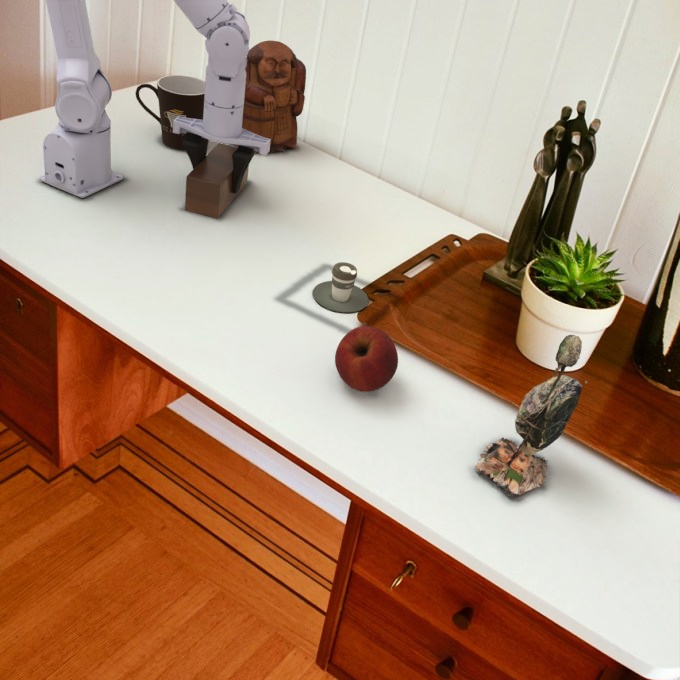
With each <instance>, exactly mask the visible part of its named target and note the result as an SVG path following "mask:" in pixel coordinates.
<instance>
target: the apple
mask: <svg viewBox="0 0 680 680" xmlns="http://www.w3.org/2000/svg"><path fill="white" fill-rule="evenodd" d="M334 354H335V355H334V364H335V365H334V366H335V368H336V371H337V374H338V376H339V377H340V378H341V380H342V381H343V382H344V384H346V385H347V386H348V387H349V388H351V389H353V390H355V391H358V392H361V393H370V392H374V391H377V390H379V389H381V388H383V387H385V386H387V384H388V383H390V382H391V380H392V379H393V378H394V377H395V374H396V372H397V370H398V365H399V356H398V349H397V347H396V344H395V343H394V341H393V339H392V338H391V337H390V335H388V333H386V332H385V331H384V330H382V329H380V328H378V327H375V326H371V325H362V326H358V327H355V328H353V329H351V330H350V331H348V332H347V333H346V334H345V335H344V336H343V337H342V339H341V340H340V341H339V343H338V345H337V347H336V350H335V353H334Z"/></svg>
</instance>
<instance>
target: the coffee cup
mask: <svg viewBox="0 0 680 680" xmlns="http://www.w3.org/2000/svg"><path fill="white" fill-rule="evenodd" d="M331 274H332V276H331V280H328V281H323V282H321V283H318V284H317V285H316V286H314V288H313V290H312V297H313V298H314V300H315V301H316V302H317V303H318V304H319V305H320V306H321V307H322V308H324V309H326V310H328V311H331V312H334V313H341V314H352V313H357V312H360V311H362V310H364V309H365V308H366V307H367V306H368V304H369V297H368V295H367V293H366V291H364V290H363V289H362V288H361V287H358V286H357V285H355V283H356V278H357V277H358V269H357V267H356V266H355V265H354V264H353V263H349V262H343V261H342V262H336V263H334V265H333V266H332V270H331Z"/></svg>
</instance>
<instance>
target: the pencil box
mask: <svg viewBox="0 0 680 680" xmlns="http://www.w3.org/2000/svg"><path fill="white" fill-rule="evenodd" d="M237 149H238V147H236V146H232V145H228V144H224V143H218V142H217V144H216V145H215V146H214V147H213V148H212V149H211V150H210V151H209V152H208V154H206V157H205V158H204V159H203V160H202V161H201V162H200V163H199V164H198V165H197V166H196V167H195V168H194V169H193V168H192V170H191V171H190V172H189V173H187V175H186V179H185V199H184V211H187V212H190V213H195V214H198V215H203V216H206V217H211V218H214V219H219V218H220V217H221V215H222V214H223V213H224V212H225V211H226V209H227V208H228V207H229V206H230V204H231V203H232V202H233V201H234V200H235V199H236V197H237V196H238V194H239V193H240V192H241V191H242V190H243V188H244V187H245V186H246V185H247V183H248V178H249V169H250V168H249V166H250V164H249V165H248V167H247V169H246V171H245V174H244V176H243V179H242V182H241V186H240V190H239V191H238V192H237V193H236V194H234V193H232V179H233V159H232V154H233V153H234V152H235V151H236V150H237Z"/></svg>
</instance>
